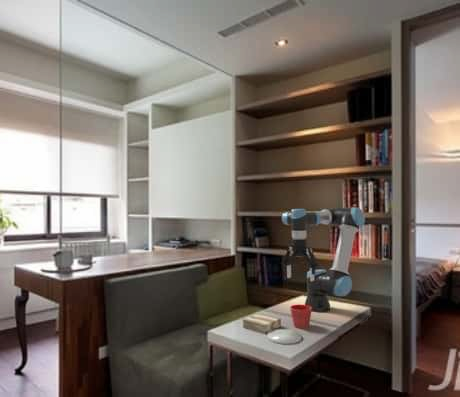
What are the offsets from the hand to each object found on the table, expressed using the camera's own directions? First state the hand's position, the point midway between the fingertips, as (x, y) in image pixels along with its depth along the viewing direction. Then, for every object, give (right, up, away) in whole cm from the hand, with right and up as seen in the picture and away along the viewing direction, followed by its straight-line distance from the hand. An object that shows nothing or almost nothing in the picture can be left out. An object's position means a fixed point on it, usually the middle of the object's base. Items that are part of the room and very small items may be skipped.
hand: (300, 279), depth 178 cm
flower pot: (0, -25, 0) cm, 25 cm away
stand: (-20, -25, -1) cm, 32 cm away
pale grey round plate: (-11, -24, -16) cm, 31 cm away
